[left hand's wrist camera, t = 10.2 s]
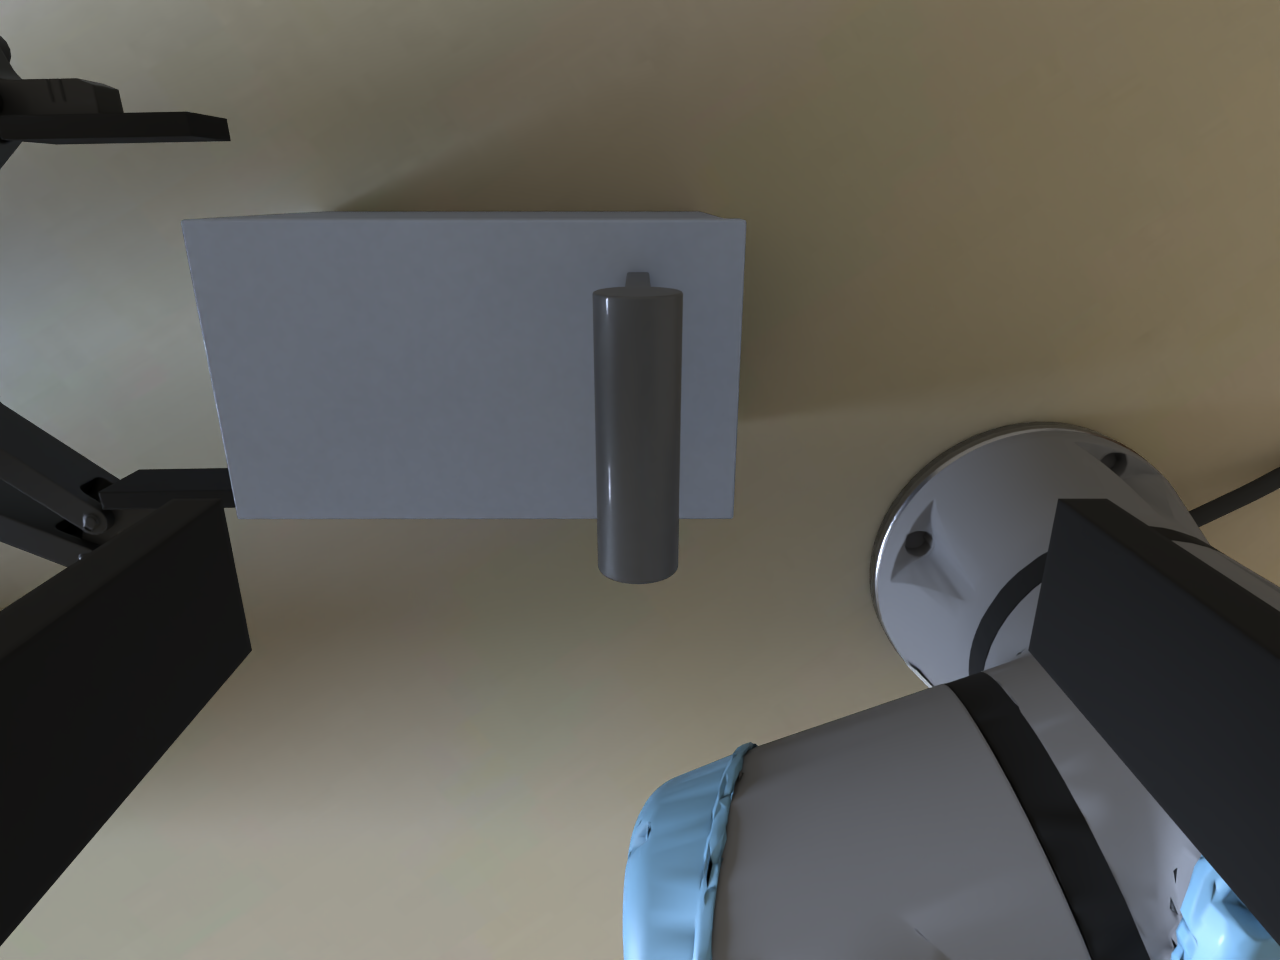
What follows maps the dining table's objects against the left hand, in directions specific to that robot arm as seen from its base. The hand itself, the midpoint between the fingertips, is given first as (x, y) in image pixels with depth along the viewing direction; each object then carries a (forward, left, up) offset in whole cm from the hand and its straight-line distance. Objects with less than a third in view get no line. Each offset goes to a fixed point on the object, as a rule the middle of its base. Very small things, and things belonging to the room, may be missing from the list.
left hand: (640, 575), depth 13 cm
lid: (+5, -2, -15) cm, 16 cm away
